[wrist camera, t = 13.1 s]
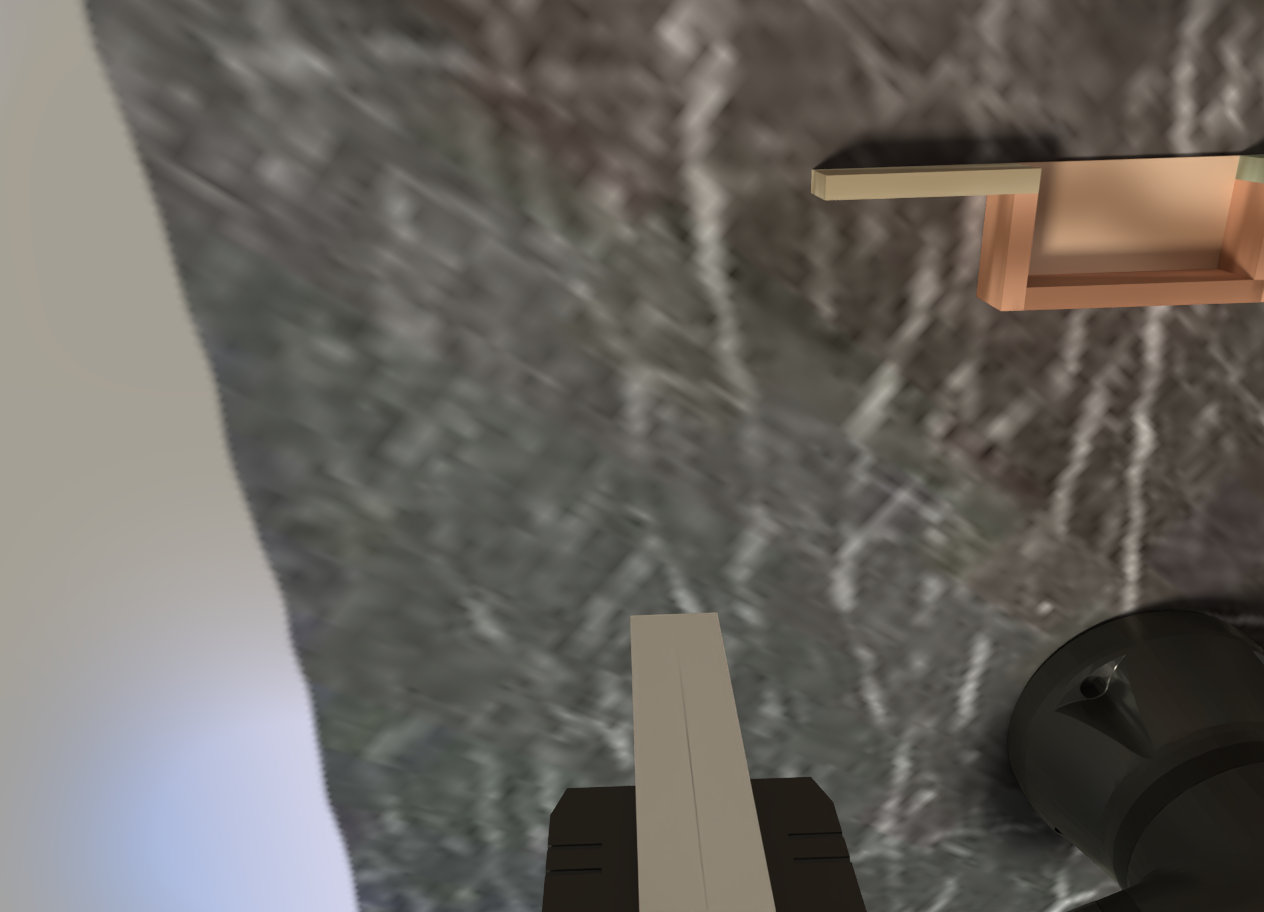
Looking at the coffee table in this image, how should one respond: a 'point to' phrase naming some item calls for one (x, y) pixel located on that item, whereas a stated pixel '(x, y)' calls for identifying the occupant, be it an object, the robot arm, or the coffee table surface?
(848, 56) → the coffee table surface
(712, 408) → the coffee table surface
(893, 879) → the coffee table surface
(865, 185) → the trap box
